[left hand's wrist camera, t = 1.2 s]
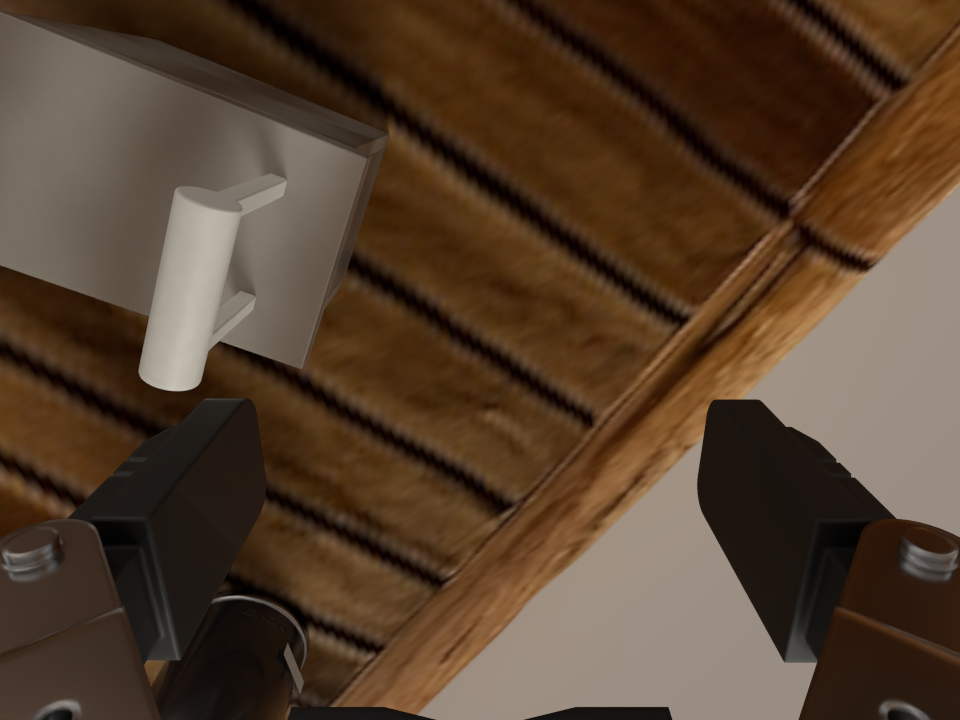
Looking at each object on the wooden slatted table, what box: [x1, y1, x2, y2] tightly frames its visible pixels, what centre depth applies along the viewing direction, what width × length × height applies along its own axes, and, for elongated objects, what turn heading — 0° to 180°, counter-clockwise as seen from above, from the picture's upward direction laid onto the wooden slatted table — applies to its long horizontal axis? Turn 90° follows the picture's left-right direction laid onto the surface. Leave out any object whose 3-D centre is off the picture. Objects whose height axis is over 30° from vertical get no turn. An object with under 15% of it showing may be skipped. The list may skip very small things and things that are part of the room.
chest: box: [19, 14, 389, 309], centre depth 31 cm, size 13×10×11 cm
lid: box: [0, 11, 371, 391], centre depth 22 cm, size 14×10×9 cm
